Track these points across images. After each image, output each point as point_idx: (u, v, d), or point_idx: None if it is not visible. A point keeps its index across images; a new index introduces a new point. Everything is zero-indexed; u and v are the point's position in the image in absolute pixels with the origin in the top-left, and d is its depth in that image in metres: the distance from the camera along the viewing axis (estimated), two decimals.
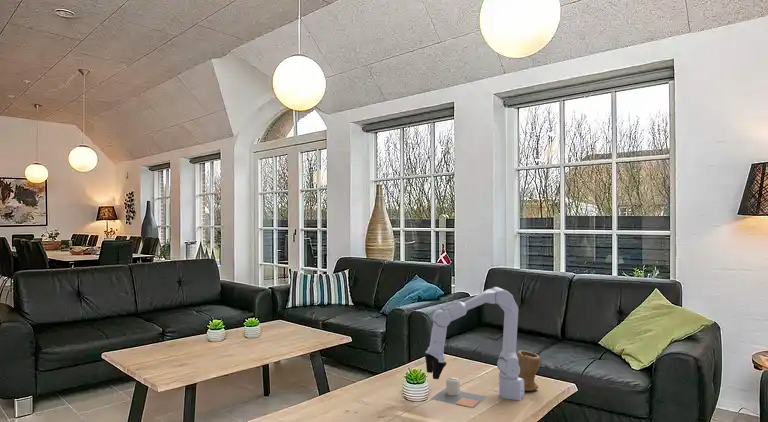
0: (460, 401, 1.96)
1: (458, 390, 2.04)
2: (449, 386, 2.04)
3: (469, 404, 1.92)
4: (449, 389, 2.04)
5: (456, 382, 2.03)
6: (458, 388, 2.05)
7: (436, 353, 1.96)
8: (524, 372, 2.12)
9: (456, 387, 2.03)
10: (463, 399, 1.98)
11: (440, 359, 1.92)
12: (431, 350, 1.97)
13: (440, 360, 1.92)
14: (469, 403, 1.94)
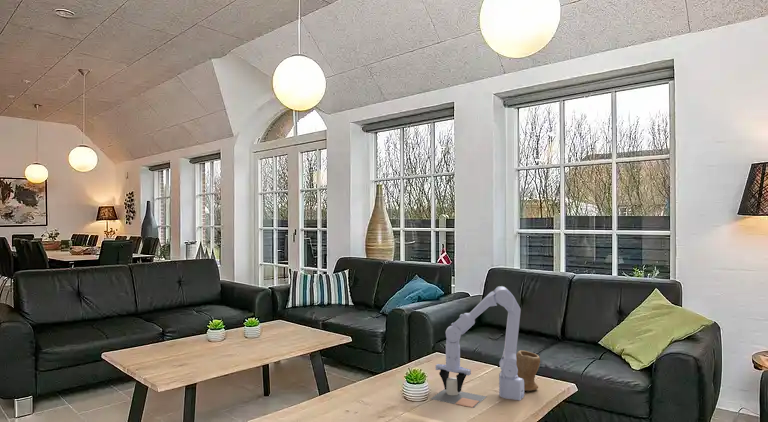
0: (460, 401, 1.96)
1: None
2: (449, 386, 2.04)
3: (469, 404, 1.92)
4: (449, 389, 2.04)
5: (456, 382, 2.03)
6: None
7: (458, 368, 2.04)
8: (524, 372, 2.12)
9: (456, 387, 2.03)
10: (463, 399, 1.98)
11: (469, 372, 2.01)
12: (453, 367, 2.03)
13: (469, 373, 2.02)
14: (469, 403, 1.94)
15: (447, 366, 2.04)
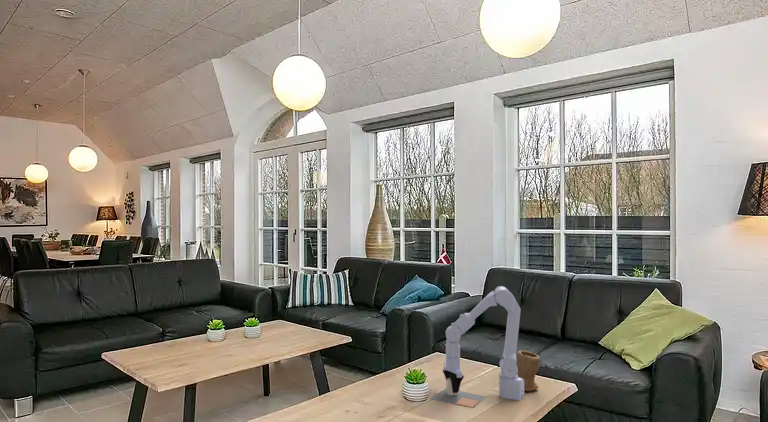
0: (460, 401, 1.96)
1: None
2: (446, 385, 2.05)
3: (469, 404, 1.92)
4: (446, 388, 2.05)
5: None
6: None
7: (453, 369, 2.03)
8: (524, 372, 2.12)
9: (451, 387, 2.03)
10: (463, 399, 1.98)
11: (458, 374, 1.99)
12: (448, 366, 2.04)
13: (458, 375, 1.99)
14: (469, 403, 1.94)
15: None
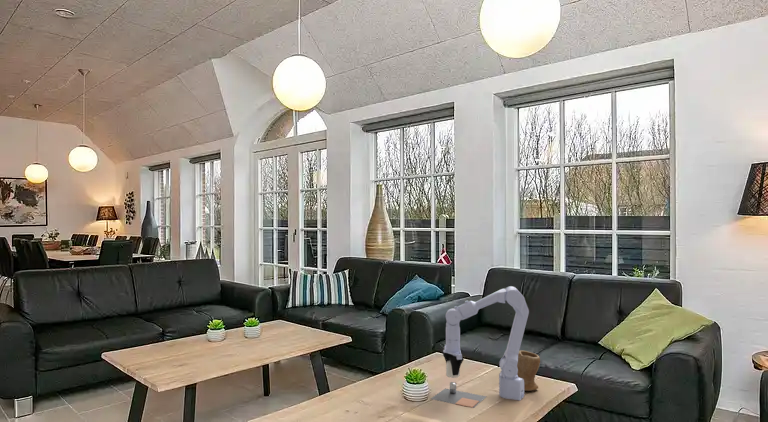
0: (460, 401, 1.96)
1: None
2: (446, 367, 2.05)
3: (469, 404, 1.92)
4: (446, 370, 2.05)
5: None
6: None
7: (453, 351, 2.03)
8: (524, 372, 2.12)
9: (451, 370, 2.03)
10: (463, 399, 1.98)
11: (458, 356, 1.99)
12: (448, 349, 2.04)
13: (458, 357, 1.99)
14: (469, 403, 1.94)
15: None
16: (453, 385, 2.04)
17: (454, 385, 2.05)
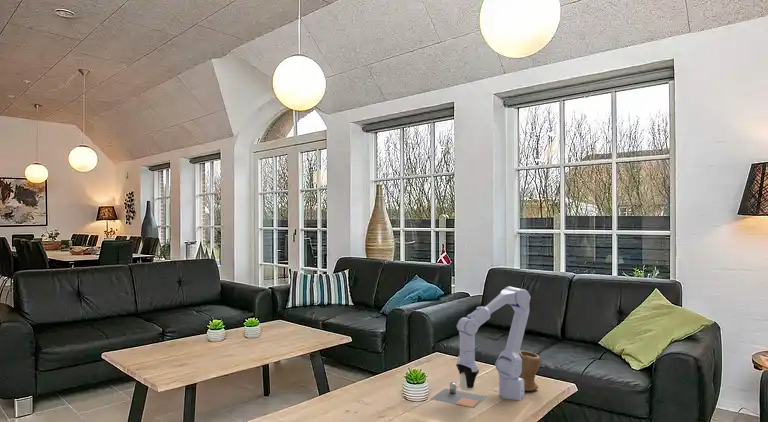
0: (460, 401, 1.96)
1: None
2: (460, 379, 1.95)
3: (469, 404, 1.92)
4: (460, 382, 1.95)
5: (465, 377, 1.93)
6: None
7: (468, 362, 1.92)
8: (524, 372, 2.12)
9: (465, 382, 1.93)
10: (463, 399, 1.98)
11: (473, 368, 1.88)
12: (462, 360, 1.93)
13: (473, 369, 1.88)
14: (469, 403, 1.94)
15: None
16: (453, 385, 2.04)
17: (454, 385, 2.05)
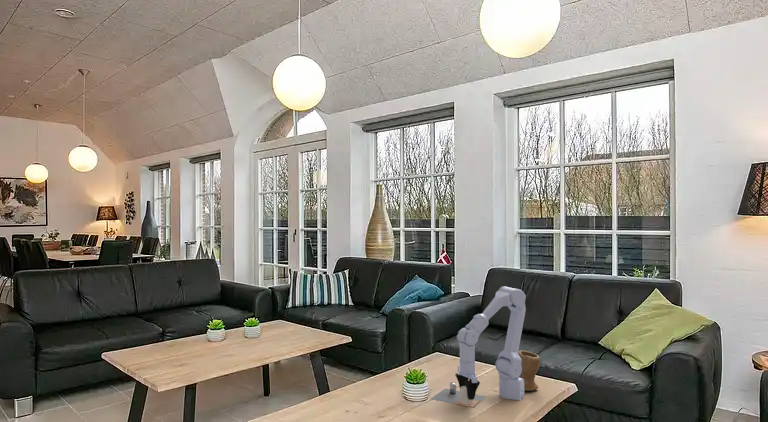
0: None
1: (469, 400, 1.93)
2: (460, 393, 1.95)
3: None
4: (460, 396, 1.95)
5: (465, 391, 1.93)
6: None
7: (468, 373, 1.92)
8: (524, 372, 2.12)
9: (465, 396, 1.93)
10: None
11: (473, 379, 1.88)
12: (462, 371, 1.93)
13: (473, 381, 1.88)
14: None
15: (459, 369, 1.96)
16: (453, 385, 2.04)
17: (454, 385, 2.05)
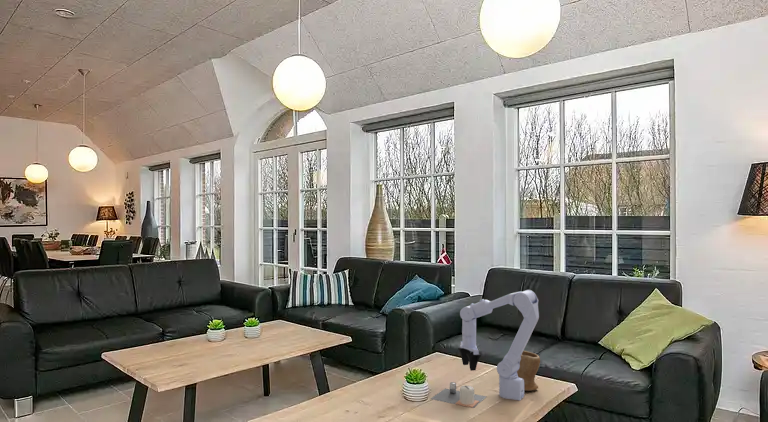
0: None
1: (469, 400, 1.93)
2: (460, 393, 1.95)
3: None
4: (460, 396, 1.95)
5: (465, 391, 1.93)
6: (470, 398, 1.93)
7: (470, 346, 2.10)
8: (524, 372, 2.12)
9: (465, 396, 1.93)
10: None
11: (475, 352, 2.06)
12: (464, 344, 2.11)
13: (475, 352, 2.06)
14: None
15: (462, 343, 2.13)
16: (453, 385, 2.04)
17: (454, 385, 2.05)
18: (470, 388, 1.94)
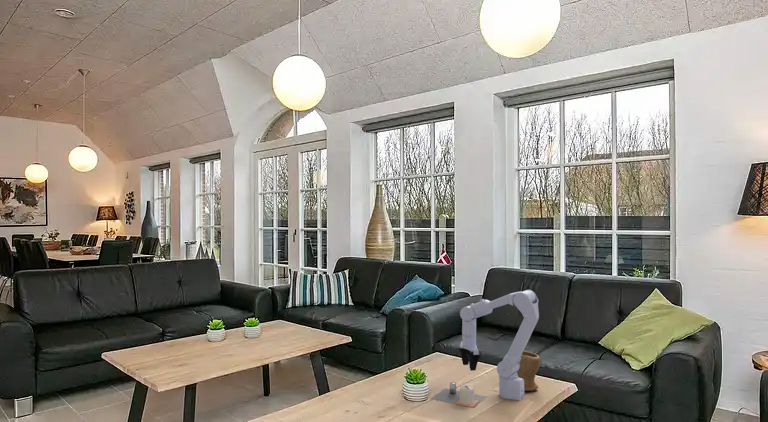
0: None
1: (469, 400, 1.93)
2: (460, 393, 1.95)
3: None
4: (460, 396, 1.95)
5: (465, 391, 1.93)
6: (470, 398, 1.93)
7: (470, 346, 2.10)
8: (524, 372, 2.12)
9: (465, 396, 1.93)
10: None
11: (475, 352, 2.06)
12: (464, 344, 2.11)
13: (475, 352, 2.06)
14: None
15: (462, 343, 2.13)
16: (453, 385, 2.04)
17: (454, 385, 2.05)
18: (470, 388, 1.94)
